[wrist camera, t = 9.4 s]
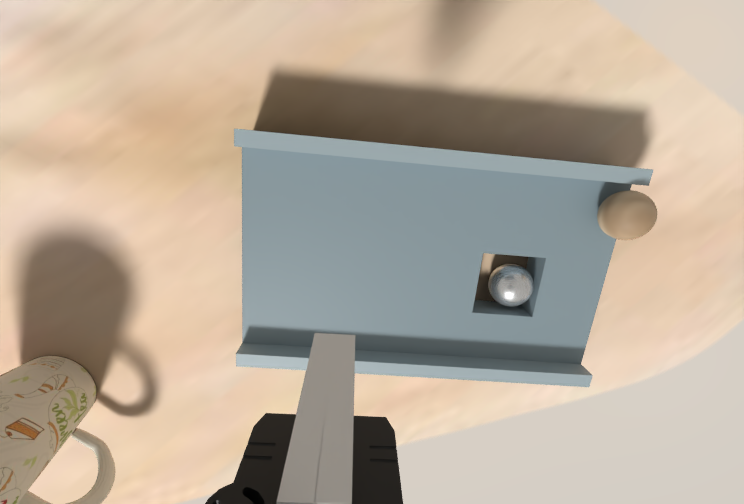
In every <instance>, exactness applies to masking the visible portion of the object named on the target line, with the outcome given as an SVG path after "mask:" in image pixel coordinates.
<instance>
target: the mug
mask: <svg viewBox="0 0 744 504" xmlns="http://www.w3.org/2000/svg"><path fill="white" fill-rule="evenodd" d="M95 399H96V386H95V383H94V381H93V379H92V377H91V375H90V374H89V373H88V372H87V371H86V370H85V369H84V368H83V367H82V366H81V365H79V364H78V363H76V362H74V361H72V360H70V359H67V358H64V357H59V356H43V357H39V358H36V359H34V360H31V361H29V362H27V363H25V364H23V365H21V366H19V367H17V368H15V369H13V370H11V371H9V372H7V373H5V374H3V375H1V376H0V504H51V503H49V502H47V501H45V500H43V499H41V498H40V497H38V496H36V495H35V494H33V493H31V492H29V491H28V489H29V488H30V487H31V485H32V484H33V483H34V481H35V480H36V479H37V477H38V476H39V475H40V474H41V472H42V471H43V470H44V468H45V467H46V466H47V465H48V463H49V462H50V461H51V459H52V458H53V457H54V456H55V454H56V453H57V452H58V450H59V449H60V448H61V447H62V445H63V444H64V443H65V441H66V440H67V439H68V438H69V436H71V437H72V438H74V439H75V440H77V441H78V442H80V443H81V444H83V445H85V446H86V447H88V448H90V449H91V450H92V451H93V452H94V453H95V455H96V457H97V460H98V476H97V480H96V482H95V484H94V486H93V487H92V489H91V490H90V491H89V492H88V493H87V494H86V495H85V496H83V497H82V498H80V499H78V500H76V501H73V502H71V503H67V504H101V503H102V502H103V501H104V499H105V498H106V497H107V495H108V494H109V492H110V490H111V488H112V486H113V483H114V479H115V464H114V461H113V458H112V455H111V453H110V450H109V448H108V446H107V445H106V444H105V443H104V442H103V441H102V440H101V439H99V438H98V437H96V436H94V435H92V434H90V433H88V432H86V431H84V430H81V429H78V428H76V427H77V426H78V425H79V423H80V422H81V421H82V419H83V418H84V417H85V416H86V414H87V413H88V412H89V410H90V409H91V407H92V406H93V404H94V402H95Z"/></svg>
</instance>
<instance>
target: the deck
mask: <svg viewBox="0 0 744 504" xmlns="http://www.w3.org/2000/svg"><path fill="white" fill-rule="evenodd" d="M234 146H237V147H242V316H243V343H242V345H241V346H240V348H239V350H238V351H237V353H236V366H241V367H258V368H275V369H291V370H306V369H307V365H308V361H309V356H310V352H311V347H312V343H313V339H314V334H315V333H327V334H345V335H355V373H359V374H376V375H393V376H410V377H427V378H444V379H460V380H477V381H494V382H511V383H528V384H545V385H562V386H579V387H589V386H590V382H591V379H592V375H591V374H590V373H589V372H588V371H587V370H586V369H585V368H584V367H583V366H582V365H581V361H582V358H583V354H584V351H585V347H586V344H587V340H588V337H589V333H590V330H591V326H592V323H593V319H594V315H595V312H596V308H597V305H598V301H599V298H600V294H601V291H602V287H603V284H604V280H605V277H606V273H607V269H608V266H609V262H610V259H611V255H612V252H613V248H614V245H615V241H616V239H615V238H612V237H610V236H608V235H607V234H606V233H604V232H603V230H602V229H601V228H600V226H599V224H598V220H597V213H598V209H599V207H600V205H601V204H602V202H603V201H604V200H605V199H606V198H608V197H609V196H611V195H612V194H614V193H617V192H620V191H630V188H631V185H632V184H636V185H647V186H649V183H650V179H651V176H652V173H653V170H651V169H641V168H631V167H620V166H610V165H600V164H590V163H580V162H569V161H559V160H549V159H539V158H529V157H518V156H508V155H498V154H488V153H478V152H467V151H457V150H447V149H437V148H427V147H417V146H406V145H396V144H386V143H376V142H366V141H355V140H345V139H335V138H325V137H315V136H304V135H294V134H284V133H274V132H264V131H253V130H243V129H234ZM483 253H489V254H502V255H514V256H526V257H528V262H527V267H526V270H527V271H528V272H529V273H530V275H531V276H532V279H533V282H534V289H533V293H532V295H531V297H530V298H529V299H528V300H527V301H526V302H525V303H523V304H521V305H518V306H505V305H502V304H500V303H499V302H496V301H482V300H475V295H476V289H477V284H478V279H479V273H480V268H481V262H482V257H483Z"/></svg>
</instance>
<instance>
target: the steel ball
mask: <svg viewBox="0 0 744 504" xmlns="http://www.w3.org/2000/svg"><path fill="white" fill-rule="evenodd" d="M488 287H489V291H490V294H491V295H492V297H493V298H494V299H495V300H496V301H497V302H499V303H500V304H502V305H505V306H518V305H521V304H523V303H525V302H526V301H527V300H528V299H529V298H530V297H531V295H532V293H533V289H534V282H533V279H532V276H531V275H530V273H529V272H528V271H527V270H526V269H525V268H523V267H522V266H520V265H517V264H504V265H501V266H499V267H497V268H496V269H495V270H494V271H493V272H492V273H491V275H490V277H489V282H488Z"/></svg>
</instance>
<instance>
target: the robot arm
mask: <svg viewBox="0 0 744 504" xmlns="http://www.w3.org/2000/svg"><path fill="white" fill-rule="evenodd" d="M354 374H355V335H345V334H327V333H315V334H314V339H313V343H312V347H311V352H310V356H309V361H308V365H307V369H306V374H305V378H304V383H303V387H302V391H301V396H300V400H299V405H298V409H297V414H296V415H295V414H271V413H266V414H265V415H264V416H263V417H262V418H261V419H260V420H259V421H258V422H257V424H256V425H255V426H254V427H253V430H252V433H251V436H250V438H249V441H248V445H247V447H246V450H245V452H244V455H243V459H242V461H241V463H240V466H239V469H238V472H237V474H236V477H235V480H234V483H232V484H230V485H227V486H225V487H223V488H221V489H219V490H218V491H217V492H216V493H215V494H213V495H212V496H211V497H210V498H209V499H208V500H207V502H206V503H205V504H403V500H402V491H401V483H400V474H399V466H398V458H397V450H396V440H395V432H394V429H393V428H392V426H391V425H390V423H389V421H388V420H387V418H386V417H368V416H354Z"/></svg>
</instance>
